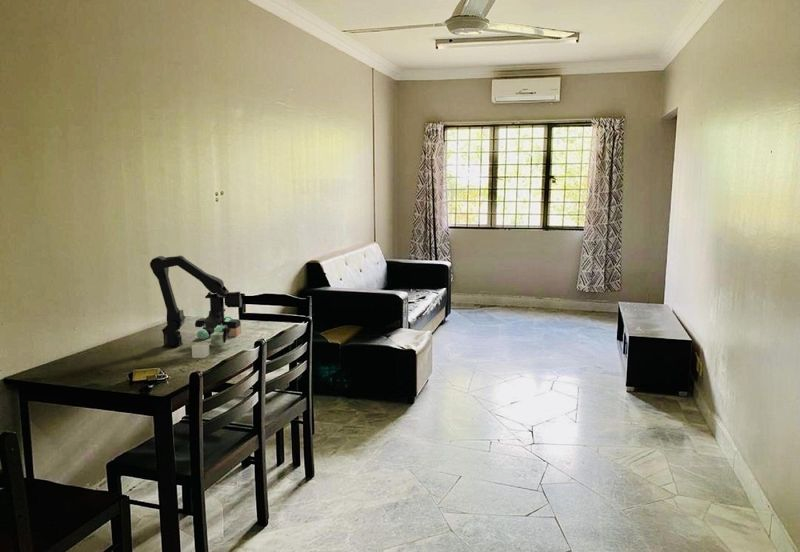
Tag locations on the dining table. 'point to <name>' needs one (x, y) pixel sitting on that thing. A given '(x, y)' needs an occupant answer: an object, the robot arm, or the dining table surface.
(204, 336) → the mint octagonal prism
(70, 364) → the dining table surface
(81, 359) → the dining table surface
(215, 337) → the sage block
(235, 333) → the terracotta block
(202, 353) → the off white block
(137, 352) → the dining table surface
